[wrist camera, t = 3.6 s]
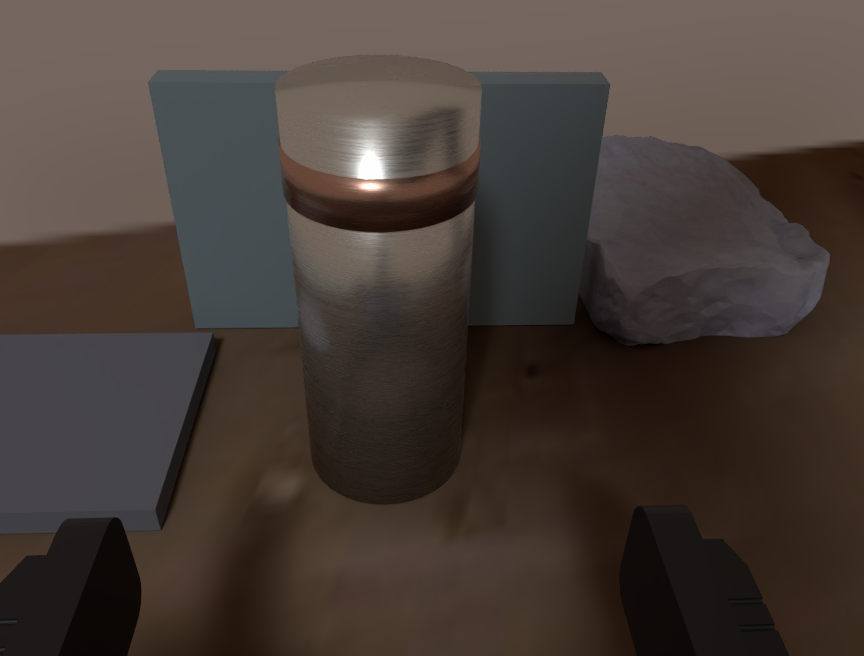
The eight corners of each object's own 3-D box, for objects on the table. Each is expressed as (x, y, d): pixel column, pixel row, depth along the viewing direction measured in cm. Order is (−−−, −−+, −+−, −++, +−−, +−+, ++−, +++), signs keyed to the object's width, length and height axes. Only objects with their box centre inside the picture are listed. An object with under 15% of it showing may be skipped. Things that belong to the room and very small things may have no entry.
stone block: (702, 234, 39) (517, 205, 37) (745, 147, 37) (548, 110, 34) (819, 389, 30) (581, 362, 28) (889, 288, 27) (630, 248, 25)
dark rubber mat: (216, 351, 27) (212, 332, 27) (160, 530, 21) (155, 509, 20) (-17, 353, 27) (-25, 335, 26) (-150, 537, 20) (-163, 516, 20)
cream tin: (456, 396, 25) (474, 54, 19) (468, 503, 22) (496, 123, 15) (315, 398, 25) (284, 53, 19) (303, 507, 21) (259, 123, 15)
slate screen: (567, 306, 30) (601, 72, 25) (573, 324, 29) (610, 84, 24) (202, 310, 29) (157, 69, 24) (195, 328, 28) (147, 82, 23)
